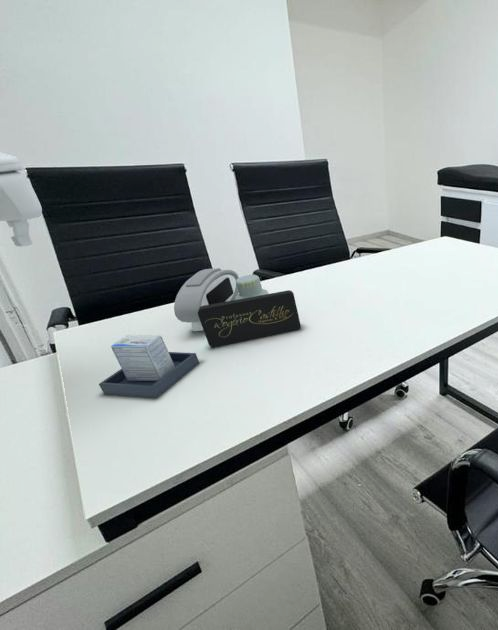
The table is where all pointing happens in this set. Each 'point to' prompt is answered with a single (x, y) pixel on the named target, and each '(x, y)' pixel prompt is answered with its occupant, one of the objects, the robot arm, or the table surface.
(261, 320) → the nameplate
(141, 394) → the tray
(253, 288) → the air freshener
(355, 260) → the table surface
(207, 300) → the alarm clock
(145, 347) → the medicine box
